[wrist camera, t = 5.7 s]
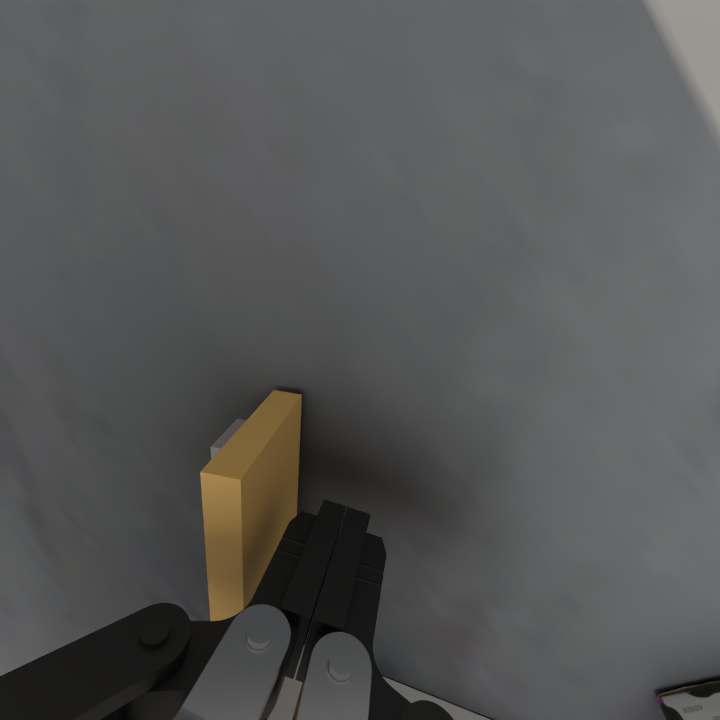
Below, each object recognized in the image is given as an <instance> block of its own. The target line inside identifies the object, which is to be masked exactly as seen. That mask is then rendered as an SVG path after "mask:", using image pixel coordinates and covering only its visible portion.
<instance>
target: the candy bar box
mask: <svg viewBox="0 0 720 720" xmlns="http://www.w3.org/2000/svg"><path fill="white" fill-rule="evenodd" d="M657 700H658V702H659V704H660V706H661V708H662V710H663V713H664V715H665V717H666V719H667V720H720V681H711V682H706V683H703V684H698V685H692V686H685V687H681V688H679V689H676V690H672V691H669V692H665V693H661V694H659V695H658V696H657Z"/></svg>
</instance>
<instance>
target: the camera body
mask: <svg viewBox="0 0 720 720" xmlns="http://www.w3.org/2000/svg"><path fill="white" fill-rule="evenodd" d="M304 647H305V645H304ZM304 647H303V650H302V653H301V656H300V660H299V663H298V666H297V669H296V672H295V675H294V679H291V678H288V677H286V676H285V679H284V682H283V685H282V688H281V691H280V694H279V697H278V700H277V703H276V705H275V707H274V709H273V711H272V712H271V715H270V717H269V720H292V717H293V714H294V711H295V707H296V703H297V700H298V697H299V693H300V690H301V686H302V683H303V682H300V681H297V680H295V679H296V675H297V672H298V668H299V665H300V661H301V658H302V654H303V651H304ZM383 678H384V679H385V680H386V681H387V683H388V684H389V685H390V686H392V687H393V688H394V689H395V690H396V691H397V692H399V693H400V694H401V695H402V696H403V697H405V698H406V699H407V700H408V701H409V702H411V703H413V702H415V701H419V700H428V701H431V702H434V703H436V704H438V705H440V706H441V707H442V708H444V709H445V710H446V711H447V712H448V713H449V714H450V715H451V717H452V718H453V719H454V720H491V719H488V718H486V717H483V716H481V715H478V714H476V713H473V712H471V711H468V710H466V709H463V708H461V707H458V706H456V705H453V704H451V703H448V702H446V701H443V700H441V699H438V698H436V697H433V696H431V695H428V694H426V693H423V692H421V691H418V690H416V689H413V688H411V687H408V686H406V685H403V684H401V683H398V682H396V681H393V680H391V679H388V678H386V677H383Z"/></svg>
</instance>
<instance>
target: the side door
mask: <svg viewBox="0 0 720 720" xmlns="http://www.w3.org/2000/svg"><path fill="white" fill-rule="evenodd" d="M301 404H302V395H301V394H295V393H289V392H283V391H277V390H273V391H272V393H271V394H270V395H269V396H268V397H267V398H266V399H265V400H264V401H263V403H262V404H261V405H260V406H259V407H258V408H257V409H256V410H255V411H254V413H253V414H252V415H251V416H250V417H249V418H248V419H247V420H243V419H236V420H235V422H234V423H233V424H232V425H231V426H230V427H229V428H228V429H227V430H226V431H225V432H224V433H223V434H222V435H221V436H220V437H219V438H218V439H217V440H216V442H215V443H214V444H213V445H212V446H211V460H210V462H209V463H208V464H207V465H206V466H205V467H204V468H203V469H202V471H201V472H200V476H201V490H202V505H203V520H204V534H205V549H206V564H207V578H208V593H209V608H210V621H220V620H224V619H227V618H230V617H232V616H234V615H236V614H238V613H239V612H240V611H242V610H243V609H244V608H245V607H246V606H247V605H248V604H249V602H250V601H251V599H252V597H253V595H254V593H255V591H256V589H257V587H258V585H259V583H260V581H261V579H262V577H263V575H264V573H265V571H266V569H267V567H268V565H269V563H270V561H271V559H272V557H273V554H274V552H275V551H276V549H277V546H278V544H279V542H280V540H281V539H282V536H283V534H284V532H285V530H286V528H287V526H288V524H289V522H290V521H291V520H292V519H293V518H294V517H296V516H297V498H298V474H299V451H300V428H301Z"/></svg>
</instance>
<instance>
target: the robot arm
mask: <svg viewBox="0 0 720 720" xmlns="http://www.w3.org/2000/svg"><path fill="white" fill-rule="evenodd" d="M345 510H346V506H343V505H340V504H337V503H334V502H331V501H328V500H325V499H324V501H323V503H322V506H321V508H320V511H319V513H318V515H317V516H315V515H312V514H309V513H306V512H303V511H302V512H301V513H299V514H298V515H297V516H296V517H294V518H293V519H292V520H291V521H290V522H289V524H288V526H287V528H286V530H285V532H284V534H283V536H282V539H281V540H280V542H279V544H278V546H277V549H276V551H275V552H274V554H273V557H272V559H271V561H270V563H269V565H268V567H267V569H266V571H265V573H264V575H263V577H262V579H261V581H260V583H259V585H258V587H257V589H256V591H255V593H254V595H253V597H252V599H251V601H250V602H249V604H248V605H247V606H246V607H245V608H244V609H243V610H242V611H240V612H239V613H238V614H236V615H234V616H232V617H230V618H227V619H224V620H220V621H190V619H189V617H188V615H187V613H186V612H185V611H184V610H183V609H182V608H181V607H179V606H177V605H175V604H170V603H159V604H154V605H151V606H148V607H146V608H144V609H142V610H140V611H137V612H135V613H133V614H131V615H129V616H127V617H125V618H123V619H120V620H118V621H116V622H114V623H112V624H110V625H108V626H106V627H104V628H101V629H99V630H97V631H95V632H93V633H91V634H89V635H87V636H84V637H82V638H80V639H78V640H76V641H74V642H72V643H70V644H68V645H65V646H63V647H61V648H59V649H57V650H55V651H53V652H51V653H49V654H46V655H44V656H42V657H40V658H38V659H36V660H34V661H32V662H29V663H27V664H25V665H23V666H21V667H19V668H17V669H15V670H13V671H10V672H8V673H6V674H4V675H2V676H0V720H269V717H270V715H271V712H272V711H273V709H274V707H275V705H276V703H277V700H278V697H279V694H280V691H281V688H282V685H283V682H284V679H285V676H286V677H288V678H291V679H294V675H295V672H296V669H297V666H298V663H299V660H300V656H301V653H302V650H303V647H304V644H305V641H306V644H305V647H304V651H303V654H302V658H301V661H300V665H299V668H298V672H297V675H296V679H295V680H297V681H300V682H303V683H302V686H301V690H300V693H299V697H298V700H297V703H296V707H295V711H294V714H293V717H292V720H454V719H453V718H452V717H451V715H450V714H449V713H448V712H447V711H446V710H445V709H444V708H442V707H441V706H440V705H438V704H436V703H434V702H431V701H428V700H419V701H415V702H413V703H411V702H409V701H408V700H407V699H406V698H405V697H403V696H402V695H401V694H400V693H399V692H397V691H396V690H395V689H394V688H393V687H392V686H390V685H389V684H388V683H387V681H386V680H385V679H384V678H383V676H382V675H381V673H380V672H379V670H378V668H377V665H376V663H375V659H374V655H373V638H374V631H375V625H376V618H377V612H378V606H379V599H380V593H381V585H382V580H383V572H384V567H385V561H386V551H385V547H384V543H383V540H382V538H381V537H378V536H375V535H372V534H369V533H366V530H367V526H368V522H369V517H370V514H368V513H365V512H362V511H359V510H356V509H353V508H350V507H348V508H347V511H346V514H345ZM344 514H345V517H344ZM343 517H344V520H343ZM342 521H343V524H342ZM341 524H342V527H341ZM340 528H341V530H340ZM339 531H340V533H339ZM338 534H339V536H338ZM337 538H338V540H337ZM336 541H337V543H336ZM335 545H336V546H335ZM334 548H335V549H334ZM331 558H332V559H331ZM330 561H331V562H330ZM329 564H330V565H329ZM326 574H327V575H326ZM325 577H326V578H325ZM324 580H325V581H324ZM321 590H322V591H321ZM320 593H321V594H320ZM319 596H320V597H319ZM318 599H319V600H318ZM316 606H317V607H316ZM315 609H316V610H315ZM314 612H315V613H314ZM313 615H314V616H313ZM312 618H313V619H312ZM311 622H312V623H311ZM310 625H311V626H310ZM309 628H310V630H309ZM308 631H309V633H308ZM307 634H308V637H307ZM306 637H307V640H306Z"/></svg>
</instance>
